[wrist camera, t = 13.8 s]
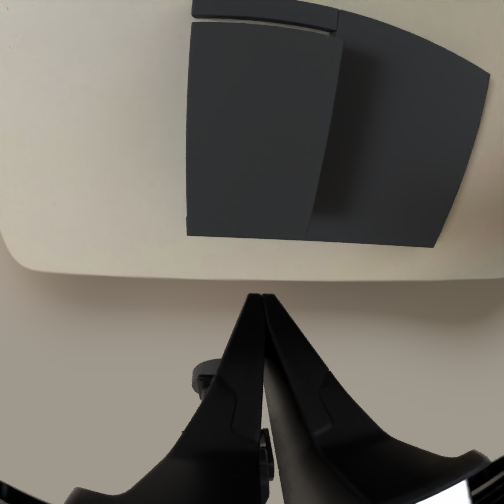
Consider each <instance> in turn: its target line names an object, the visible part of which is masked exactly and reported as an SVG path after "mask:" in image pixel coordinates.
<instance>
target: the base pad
mask: <svg viewBox="0 0 504 504" xmlns="http://www.w3.org/2000/svg"><path fill="white" fill-rule="evenodd" d="M191 15H192V16H193V17H194V18H218V19H241V20H255V21H265V22H274V23H282V24H289V25H295V26H301V27H307V28H313V29H318V30H323V31H327V32H330V36H333V37H337V38H342V39H344V44H343V51H342V58H341V64H340V71H339V77H338V83H337V89H336V95H335V101H334V107H333V112H332V118H331V124H330V129H329V134H328V139H327V145H326V150H325V155H324V160H323V165H322V170H321V174H320V179H319V184H318V189H317V193H316V198H315V202H314V207H313V211H312V216H311V220H310V225H309V229H308V233H307V237H306V240H303V241H323V242H342V243H361V244H378V245H395V246H412V247H427V248H434V246H435V243H436V241H437V239H438V237H439V235H440V233H441V230H442V228H443V226H444V224H445V221H446V219H447V217H448V214H449V212H450V210H451V207H452V205H453V202H454V200H455V197H456V195H457V192H458V189H459V187H460V184H461V181H462V179H463V176H464V173H465V170H466V167H467V164H468V161H469V158H470V155H471V152H472V149H473V145H474V142H475V138H476V135H477V131H478V128H479V124H480V120H481V116H482V112H483V108H484V103H485V99H486V94H487V89H488V84H489V79H490V74H489V73H487V72H486V71H484V70H483V69H481V68H479V67H478V66H476V65H474V64H473V63H471V62H469V61H467V60H466V59H464V58H462V57H460V56H458V55H457V54H455V53H453V52H451V51H449V50H447V49H445V48H443V47H441V46H439V45H437V44H435V43H433V42H431V41H428V40H426V39H424V38H422V37H419V36H417V35H415V34H412V33H410V32H407V31H405V30H402V29H400V28H397V27H395V26H392V25H389V24H386V23H384V22H381V21H378V20H375V19H372V18H368V17H365V16H362V15H359V14H355V13H352V12H348V11H344V10H339V9H336V8H332V7H328V6H323V5H318V4H314V3H308V2H303V1H297V0H193V2H192V13H191ZM186 226H187V217H186ZM187 236H206V235H188V232H187ZM208 237H231V236H208ZM234 238H254V237H234ZM258 239H276V238H258ZM280 240H297V239H280Z"/></svg>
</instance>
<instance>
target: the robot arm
mask: <svg viewBox="0 0 504 504" xmlns="http://www.w3.org/2000/svg"><path fill="white" fill-rule="evenodd" d="M197 382H198V389H199V396H200V399H201V400H202V402H201V404H200V406H199V407H198V409H197V411H196V413H195V414H194V416H193V417H192V419H191V421H190V422H189V424H188V425H187V427H186V428H185V430H184V431H182V435H181V436H180V438H179V439H178V441H177V442H176V444H175V445H174V447H173V448H172V449H171V451H170V452H169V453H168V454H167V455H166V457H165V458H164V459H163V460H162V461H160V462H159V463H158V464H157V465H156V466H155V467H154V468H153V469H152V470H151V471H150V472H149V473H148V474H146V475H145V476H144V477H143V478H142V479H141V480H140V481H139V482H138V483H136V484H135V485H134V486H133V487H132V488H131V489H129V490H128V491H126V492H125V493H122V494H119V495H106V494H102V493H98V492H94V491H91V490H87V489H84V488H80V487H76V488H74V490H73V491H72V493H71V494H70V495H69V497H68V498H67V500H66V501H65V503H64V504H265V503H266V502H267V500H268V498H269V481H272V480H273V478H274V459H273V453H272V448H271V442H270V436H269V430H268V428H263V429H261V418H262V399H263V382H264V388H265V394H266V399H267V406H268V412H269V417H270V423H271V430H272V435H273V441H274V447H275V453H276V458H277V464H278V469H279V476H280V481H281V487H282V492H283V499H284V504H504V455H503V456H501V457H499V458H498V459H496V460H494V461H492V462H491V461H490V460H489V458H488V457H487V456H485V455H484V454H482V453H480V452H478V451H476V450H471V451H469V452H467V453H465V454H463V455H461V456H459V457H452V458H451V457H444V456H440V455H437V454H434V453H431V452H429V451H426V450H423V449H420V448H418V447H415V446H412V445H409V444H407V443H404V442H402V441H399V440H397V439H395V438H393V437H391V436H390V435H388V434H387V433H386V432H384V431H383V430H382V429H381V428H380V427H379V426H378V425H377V424H376V423H375V422H374V421H373V420H372V419H371V418H370V417H369V416H368V415H367V413H366V412H365V411H364V410H363V409H362V408H361V407H360V406H359V405H358V404H357V403H356V402H355V401H354V400H353V399H352V397H351V396H350V395H349V394H348V393H347V392H346V391H345V389H344V388H343V387H342V386H341V384H340V383H339V382H338V381H337V379H336V378H335V377H334V375H333V374H332V372H331V371H329V369H328V367H327V366H326V364H325V363H324V362H323V360H322V359H321V358H320V356H319V355H318V353H317V352H316V351H315V349H314V348H313V347H312V345H311V344H310V343H309V342H308V340H307V338H306V337H305V336H304V334H303V333H302V332H301V330H300V329H299V327H298V326H297V325H296V323H295V322H294V321H293V319H292V318H291V317H290V315H289V314H288V312H287V311H286V310H285V308H284V307H283V306H282V304H281V303H280V301H279V300H278V299H277V297H276V296H275V295H274V294H262V295H260V294H259V293H249V294H248V295H247V298H246V300H245V303H244V305H243V308H242V310H241V313H240V315H239V317H238V320H237V322H236V324H235V327H234V329H233V332H232V334H231V337H230V339H229V341H228V344H227V346H226V349H225V351H224V354H223V356H222V358H221V361H220V363H219V365H218V368H217V370H216V374H215V375H203V374H200V375H198V376H197ZM0 504H51V503H48V502H46V501H44V500H41V499H39V498H37V497H34V496H32V495H30V494H28V493H26V492H24V491H21V490H19V489H17V488H15V487H13V486H11V485H9V484H7V483H5V482H3V481H1V480H0Z"/></svg>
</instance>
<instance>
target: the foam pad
mask: <svg viewBox="0 0 504 504" xmlns="http://www.w3.org/2000/svg"><path fill="white" fill-rule="evenodd" d="M343 44H344V39H342V38H337V37H333V36H329V35H324V34H319V33H314V32H309V31H303V30H297V29H291V28H284V27H276V26H268V25H258V24H246V23H229V22H192V26H191V38H190V52H189V69H188V89H187V121H186V198H187V232H188V235H206V236H231V237H254V238H276V239H297V240H306V237H307V233H308V229H309V225H310V220H311V216H312V211H313V207H314V202H315V198H316V193H317V189H318V184H319V179H320V174H321V170H322V165H323V160H324V155H325V150H326V145H327V139H328V134H329V129H330V124H331V118H332V112H333V107H334V101H335V95H336V89H337V83H338V77H339V71H340V64H341V58H342V51H343Z"/></svg>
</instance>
